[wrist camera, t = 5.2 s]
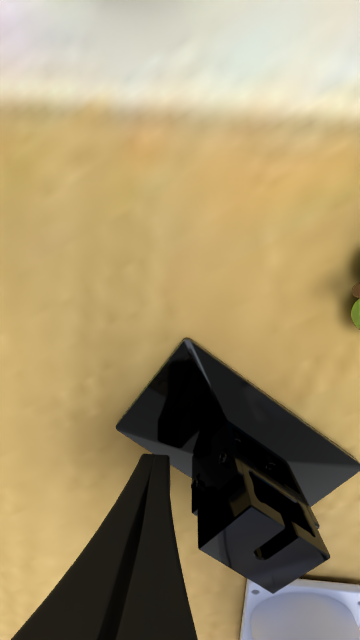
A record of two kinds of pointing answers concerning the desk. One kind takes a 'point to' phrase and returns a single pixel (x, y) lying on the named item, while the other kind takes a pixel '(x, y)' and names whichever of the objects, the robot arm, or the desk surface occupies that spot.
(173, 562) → the robot arm
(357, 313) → the grapes
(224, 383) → the build plate
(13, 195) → the desk surface
